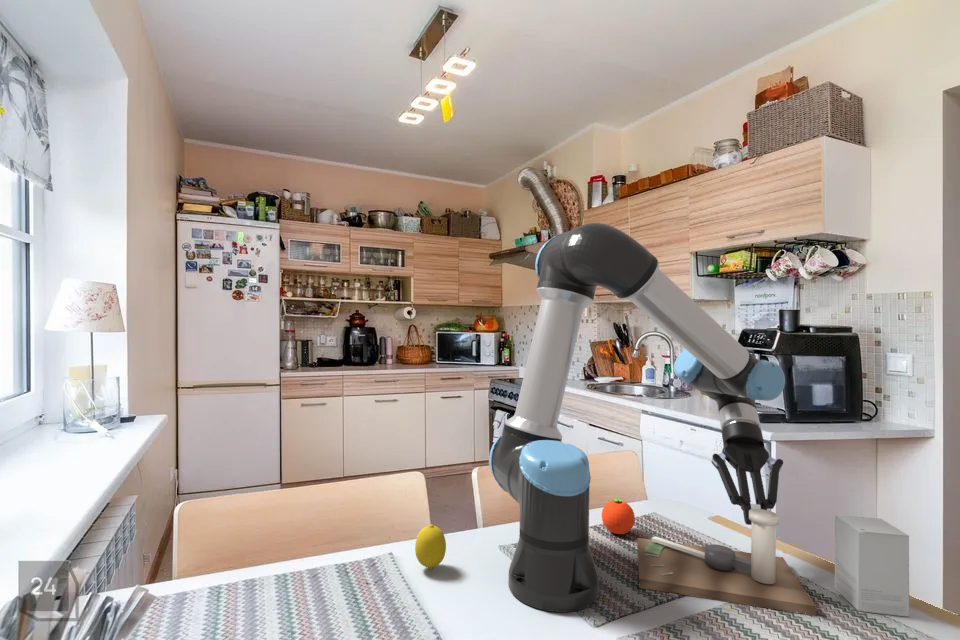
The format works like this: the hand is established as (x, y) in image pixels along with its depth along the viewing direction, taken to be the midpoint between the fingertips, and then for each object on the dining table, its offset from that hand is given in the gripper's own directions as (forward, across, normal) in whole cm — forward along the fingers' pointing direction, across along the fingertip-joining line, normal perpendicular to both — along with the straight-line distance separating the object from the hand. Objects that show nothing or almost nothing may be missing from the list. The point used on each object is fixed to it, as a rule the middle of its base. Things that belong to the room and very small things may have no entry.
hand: (760, 542), depth 87 cm
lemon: (+16, +57, +7) cm, 59 cm away
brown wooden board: (+6, +8, -3) cm, 10 cm away
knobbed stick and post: (+3, +8, -3) cm, 9 cm away
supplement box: (+7, -15, -2) cm, 17 cm away
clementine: (-4, +25, -13) cm, 28 cm away
